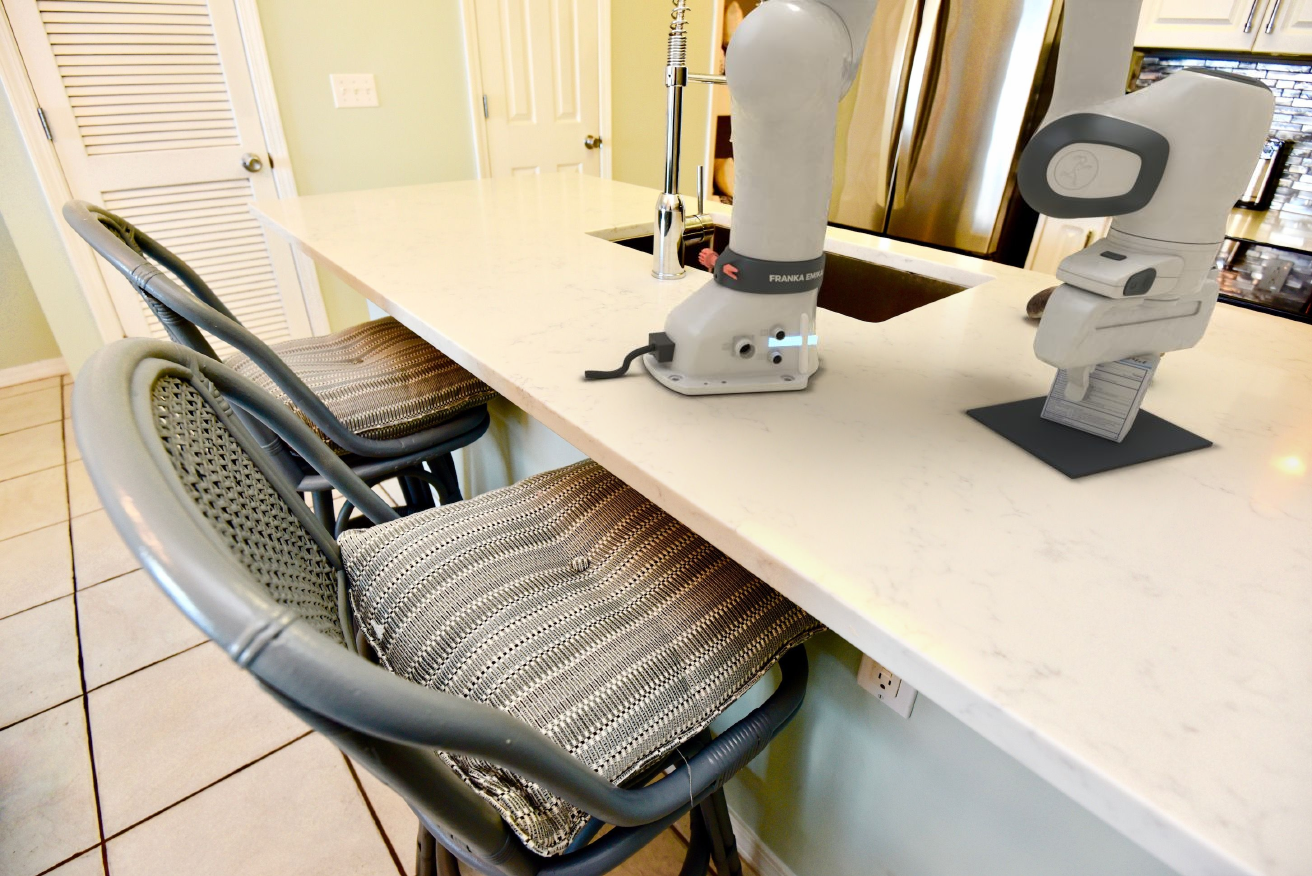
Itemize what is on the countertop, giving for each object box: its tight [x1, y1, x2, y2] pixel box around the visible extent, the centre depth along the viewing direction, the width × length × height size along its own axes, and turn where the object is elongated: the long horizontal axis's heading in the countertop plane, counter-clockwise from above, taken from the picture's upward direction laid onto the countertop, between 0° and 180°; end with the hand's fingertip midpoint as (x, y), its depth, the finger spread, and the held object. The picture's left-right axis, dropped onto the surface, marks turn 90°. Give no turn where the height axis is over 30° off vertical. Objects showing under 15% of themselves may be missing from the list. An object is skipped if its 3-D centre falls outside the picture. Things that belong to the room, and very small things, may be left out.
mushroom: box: [1025, 285, 1059, 319], centre depth 100 cm, size 8×8×6 cm
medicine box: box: [1041, 355, 1162, 443], centre depth 70 cm, size 8×4×9 cm, turn 46°
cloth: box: [965, 395, 1214, 479], centre depth 72 cm, size 20×14×1 cm
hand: (1099, 394), depth 70 cm, fingers closed on medicine box, 6 cm apart
